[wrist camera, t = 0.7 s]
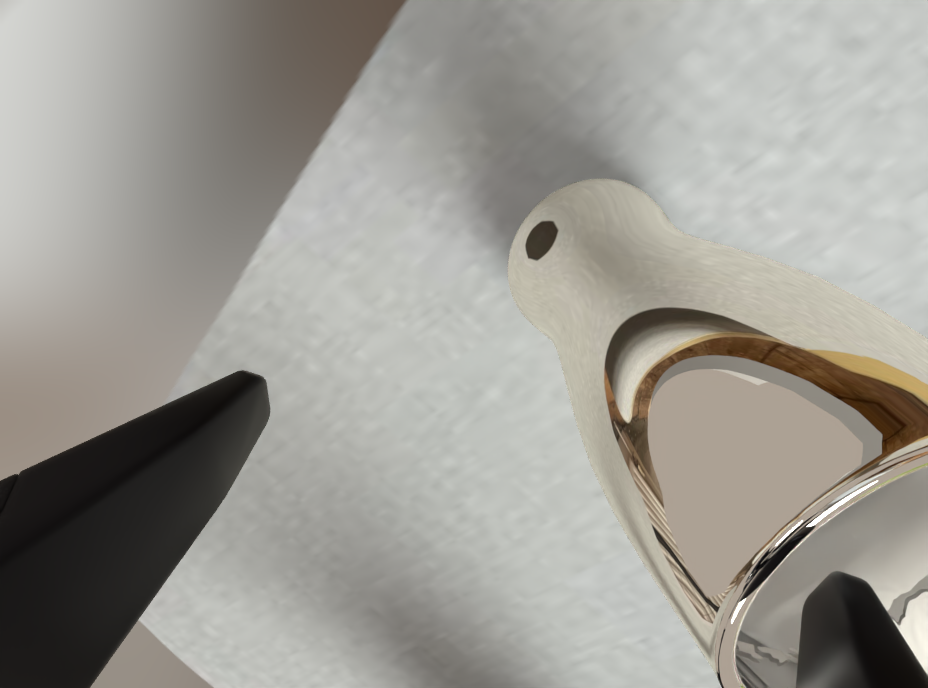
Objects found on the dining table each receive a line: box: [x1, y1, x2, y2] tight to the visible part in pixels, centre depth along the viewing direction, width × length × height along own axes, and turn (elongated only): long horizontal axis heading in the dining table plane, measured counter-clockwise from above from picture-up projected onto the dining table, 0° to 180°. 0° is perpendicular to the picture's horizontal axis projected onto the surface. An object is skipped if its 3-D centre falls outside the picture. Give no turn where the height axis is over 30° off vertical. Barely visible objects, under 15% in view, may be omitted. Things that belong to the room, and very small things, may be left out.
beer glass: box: [508, 178, 928, 688], centre depth 16 cm, size 7×7×15 cm
